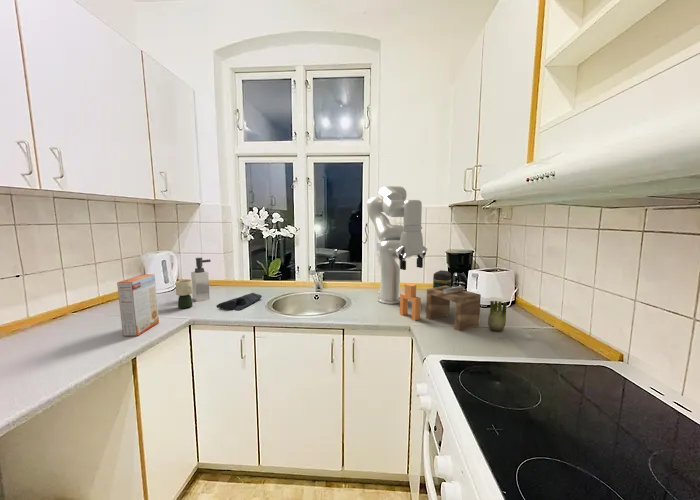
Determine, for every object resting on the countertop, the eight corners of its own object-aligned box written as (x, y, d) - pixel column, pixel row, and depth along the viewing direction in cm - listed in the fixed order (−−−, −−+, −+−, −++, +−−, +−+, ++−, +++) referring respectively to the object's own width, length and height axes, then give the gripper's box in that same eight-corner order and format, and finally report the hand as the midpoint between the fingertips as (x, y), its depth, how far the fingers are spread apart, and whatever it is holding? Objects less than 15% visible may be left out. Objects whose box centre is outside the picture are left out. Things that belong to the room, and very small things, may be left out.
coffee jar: (447, 313, 144) (449, 273, 142) (430, 310, 148) (431, 272, 145) (451, 307, 153) (452, 270, 151) (434, 305, 156) (436, 268, 154)
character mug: (199, 307, 152) (197, 280, 151) (185, 311, 146) (183, 283, 145) (185, 303, 158) (183, 278, 156) (171, 307, 152) (169, 281, 150)
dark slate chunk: (267, 300, 166) (266, 291, 166) (238, 312, 146) (237, 302, 146) (243, 297, 172) (243, 288, 171) (212, 308, 152) (212, 299, 151)
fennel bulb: (506, 331, 123) (508, 301, 122) (500, 334, 120) (502, 303, 119) (491, 326, 128) (493, 298, 126) (485, 329, 125) (487, 300, 123)
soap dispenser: (214, 298, 167) (212, 257, 165) (196, 301, 162) (194, 259, 159) (209, 296, 172) (207, 256, 169) (192, 299, 166) (190, 257, 163)
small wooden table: (425, 317, 138) (427, 285, 136) (444, 313, 145) (446, 282, 143) (459, 331, 123) (461, 294, 121) (478, 325, 129) (480, 290, 128)
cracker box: (145, 323, 131) (141, 273, 128) (159, 323, 131) (156, 273, 128) (121, 336, 117) (116, 281, 114) (137, 336, 117) (132, 281, 114)
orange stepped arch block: (399, 313, 143) (400, 282, 141) (404, 312, 145) (405, 282, 143) (415, 320, 135) (416, 287, 133) (420, 319, 136) (421, 286, 135)
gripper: (420, 228, 142) (419, 265, 144) (390, 229, 133) (390, 269, 135) (433, 228, 136) (431, 267, 138) (402, 229, 127) (402, 271, 129)
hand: (411, 268), depth 137 cm, fingers open, 9 cm apart
